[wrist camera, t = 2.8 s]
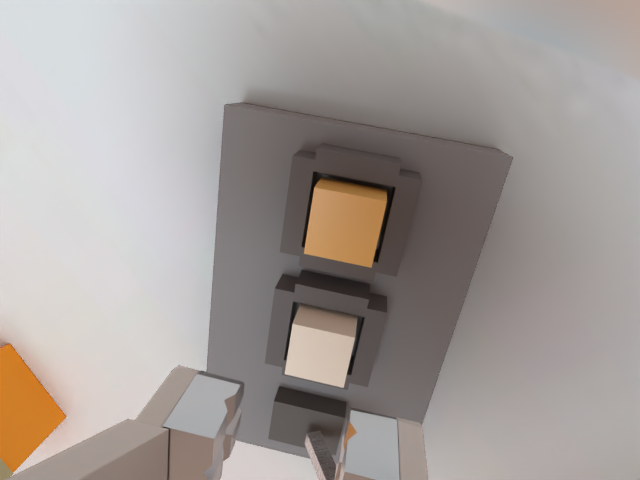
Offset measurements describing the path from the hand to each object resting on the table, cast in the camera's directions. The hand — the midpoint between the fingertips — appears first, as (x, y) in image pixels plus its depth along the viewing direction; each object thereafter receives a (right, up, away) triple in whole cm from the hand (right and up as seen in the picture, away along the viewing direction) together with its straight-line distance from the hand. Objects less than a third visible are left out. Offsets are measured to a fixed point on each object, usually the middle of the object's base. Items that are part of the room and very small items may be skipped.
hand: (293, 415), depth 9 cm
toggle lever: (0, -10, +19) cm, 21 cm away
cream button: (+1, -2, +17) cm, 17 cm away
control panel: (+1, -1, +21) cm, 21 cm away
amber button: (+2, +5, +14) cm, 15 cm away
